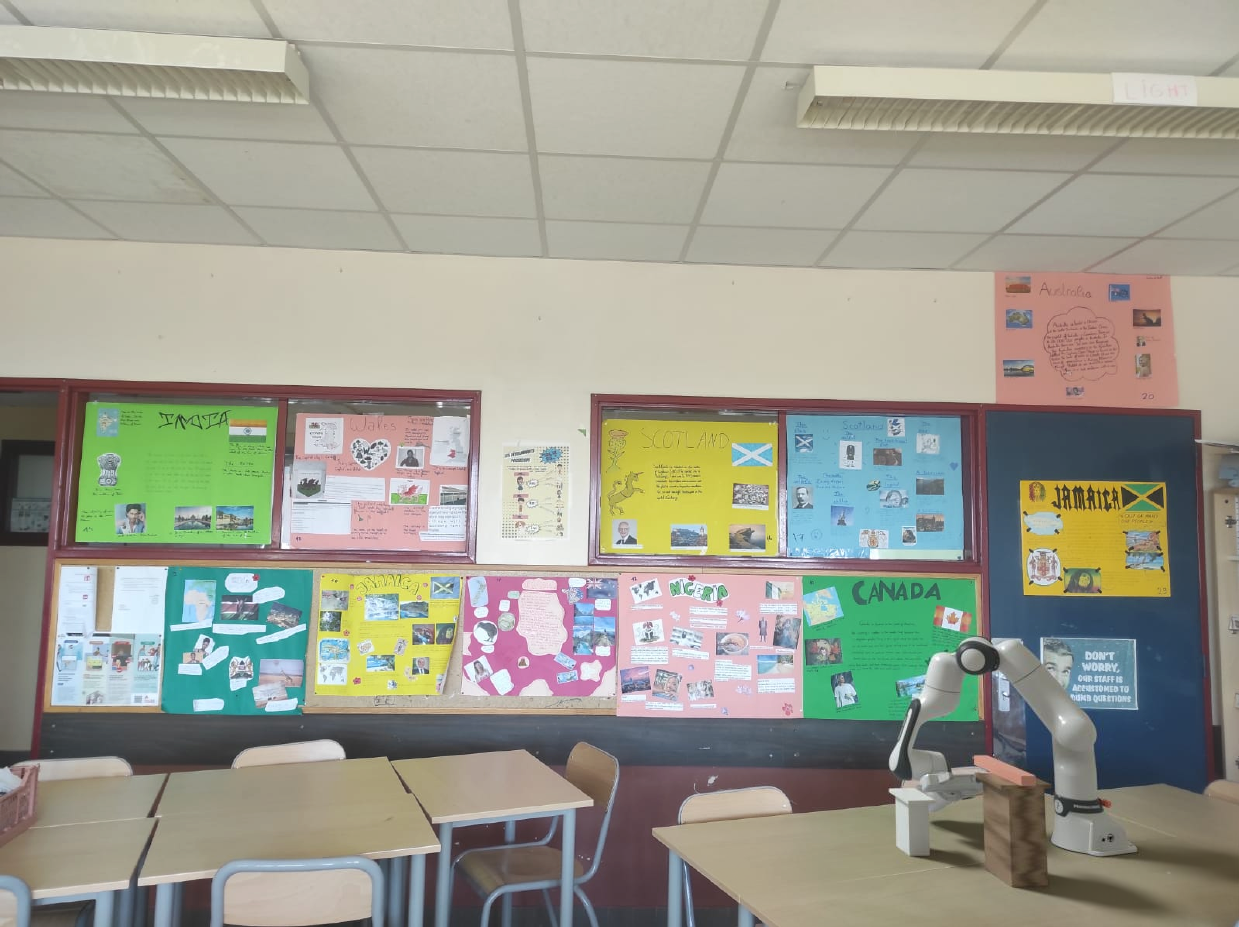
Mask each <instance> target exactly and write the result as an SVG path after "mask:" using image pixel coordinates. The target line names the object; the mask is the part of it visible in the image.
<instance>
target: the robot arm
mask: <svg viewBox="0 0 1239 927" xmlns="http://www.w3.org/2000/svg"><path fill="white" fill-rule="evenodd" d="M997 671H998V672H1000V673H1001V674H1003V676H1004V677H1005V678H1006V679H1007V680H1008V682H1009V683H1010V684H1011V685H1012V686H1013V687H1014V688H1015V690H1016V691H1017V692H1018V694H1020V696H1021V697H1022V698H1023V700H1024V701H1025V702H1026V703H1027V705H1029V707H1030V708H1031V709H1032V710H1033V712H1034V713H1035V715H1036V716H1037V717H1038V719H1039V720H1040V721H1041V722H1042V723H1043V725H1044V726H1045V727H1046V729H1048V731H1049V732H1050V734H1051V739H1052V741H1051V742H1052V743H1051V744H1052V755H1053V756H1052V757H1053V758H1052V759H1053V771H1054V772H1053V773H1054V774H1053V775H1054V792H1053V807H1054V823H1053V830H1052V836H1051V839H1050V841H1051V843H1052V844H1054V845H1055V846H1057V847H1060V848H1062V849H1065V850H1069V851H1073V852H1077V853H1083V854H1088V855H1091V856H1095V857H1107V856H1115V855H1124V854H1129V853H1130V854H1131V853H1137V852H1138V848H1137V846H1136V845H1135V844H1134V843H1131V842H1130V841H1128V837H1127V836H1128V835H1127V833H1126V829H1125V827H1124V826H1123V825H1122V824H1121V823H1120V822H1119V821H1117V820H1116V819H1115V818H1113V817H1112V816H1111V815H1110V814H1109V813H1108V812H1106V811H1105V808H1107V809H1110V808H1111V807H1112V802H1111V801H1110V800H1107V799H1102V798H1100V797H1098V780H1097V779H1098V778H1097V776H1098V775H1097V766H1096V765H1097V764H1096V756H1095V746H1094V745H1095V743H1096V741H1097V728H1096V726H1095V724H1094V722H1093V721H1092V719H1091V718H1090V716H1089V715H1088V714H1087V712H1085V711H1084V710H1082V708H1080V706H1079V705H1078V704H1077V702H1075V701H1074V699H1073V698H1072V697H1071V696H1070V694H1069V693H1068V692H1067V691H1066V689H1065V688H1064V687H1063V686H1062V685H1061V684H1060V683H1059V681H1058V680H1057V678H1055V676H1053V674H1052V673H1051V672H1050V671H1049V669H1048V668H1046V666H1045V665H1044V664H1043V663H1042V662H1041V661H1040V659H1039V658H1038V657H1037V656H1036V655H1035V654H1034V653H1033V652H1032V651H1030V649H1029V648H1027V647H1026V645H1024V644H1022V642H1020V641H1018V640H1017V639H1008V640H1004V641H1002V642H1000V643H999V644H993V642H992V641H991V640H990V639H988V638H986V637H985V636H981V635H971V636H970V637H969V636H968V637H967V638H965V639H963V640H962V641H961V642H960V644H959V645H958V647H957V648H956V649H955V650H954V652H947V651H946V652H944V651H942V652H941V651H940V652H937V653H934V654H933V655H932V656H931V658H930V661H929V665H928V667H927V669H926V674H925V678H924V680H925V681H924V683H923V684H924V685H923V689H922V691H920V693H919V695H918V696H917V697H916V698H915V699H912V700H911V702H910V703H909V705H908V708H907V709H906V713H905V715H904V718H903V722H902V725H901V728H900V731H899V733H898V736H897V739H896V742H895V745H894V746H893V749H892V750H891V752H890V754H889V758H888V768H889V771H890V772H891V774H893V776H894V777H895V778H896V779H898V780H899V781H908V782H909V781H914V782H919V783H918V784H916V785H915V789H917V790H919V791H920V792H922V793H924V794H926V795H927V796H929V797H931V798H932V799H934V800H935V804H929V814H932V813H936V812H939V811H941V810H943V809H945V808H946V807H948V806H949V805H951V804H953V803H958V802H960V801H965V800H971V799H974V798H976V797H977V794H980V793H983V783H982V782H974V773H975V772H973V773H953V771H952V766H951V763H950V761H949V760H948V759H947V757H946V756H945V754H943V753H942V752H939V751H933V750H932V751H931V750H923V749H915V748H913V747H914V745H915V742H916V739H917V735H918V732H919V729H920V727H921V726H922V725H923V724H924V723H926V722H928V721H931V720H932V719H933V720H934V719H938V718H942V717H946V716H948V715H950V714H952V713H954V711H956V710H957V708H958V707H959V703H960V701H961V694H962V690H963V689H962V688H963V682H964V678H965V676H966V675H967V674H968V675H969V676H982V675H986V674H989V673H992V672H997ZM979 772H980V771H977V772H976V773H979ZM1104 807H1105V808H1104Z"/></svg>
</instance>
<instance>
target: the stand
mask: <svg viewBox="0 0 1239 927" xmlns="http://www.w3.org/2000/svg"><path fill="white" fill-rule="evenodd" d="M888 793H890V795H893V796H895V797H894V798H895V845H896V846H895V847H897V848H899V849H900V850H901V851H902V852H904V854H906V855H908V856H909V857H918V856H926V857H927V856H930V855H931V854H930V853H931V850H930V817H929V816H930V813H929V804H935V800H934V799H932V798H931V797H929V796H927V795H926V794H924V793H922V792H920V791H919V790H917V789H916V787H911V788H908V787H906V788H904V787H903V788H902V787H901V788H900V787H899V788H888Z"/></svg>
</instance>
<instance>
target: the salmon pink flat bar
mask: <svg viewBox="0 0 1239 927" xmlns="http://www.w3.org/2000/svg"><path fill="white" fill-rule="evenodd" d="M973 764H974V766H976V767H979V768H981V769H983V770H985V771H988V772H992V773H994V774H996V775H998V776H1000V777H1003V778H1005V779H1007V780H1009V781H1011V782H1014V783H1016V784H1018V785H1020V786H1036V778H1037V777H1036V775H1035V774H1033V773H1030V772H1028V771H1025V770H1023V769H1021V768H1018V767H1016V766H1013V765H1011V764H1008V763H1006V762H1004V761H1001V760H999V759H997V758H994V757H992V756H990V755H984V754H982V755H981V754H980V755H979V754H978V755H976V754H975V755H973Z"/></svg>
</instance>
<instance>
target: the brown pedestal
mask: <svg viewBox="0 0 1239 927" xmlns="http://www.w3.org/2000/svg"><path fill="white" fill-rule="evenodd" d="M978 772H979V773H977V772H973V773H974V782H982V783H983V792H982V806H983V807H982V809H983V810H982V811H983V813H982V814H983V837H984V840H983V841H984V842H983V843H984V869H985V870H986V871H987V872H989V873H990V874H992V875H994V877H996V878H997V879H999V880H1001V881H1002V882H1004V883H1005V884H1007V885H1008V886H1010V887H1011V888H1017V887H1018V888H1019V887H1021V888H1022V887H1023V888H1024V887H1045V886H1047V887H1048V886H1049V870H1048V852H1047V851H1048V845H1047V824H1046V823H1047V822H1046V821H1047V820H1046V801H1045V800H1046V798H1045V796H1046V795H1045V789H1052V783H1049V782H1046V781H1045V780H1041V779H1040V778H1037V777H1036V786H1020V785H1018V784H1016V783H1014V782H1011V781H1009V780H1007V779H1005V778H1003V777H1000V776H998V775H996V774H994V773H992V772H989V771H988V772H986V771H985V772H983V771H978Z"/></svg>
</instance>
